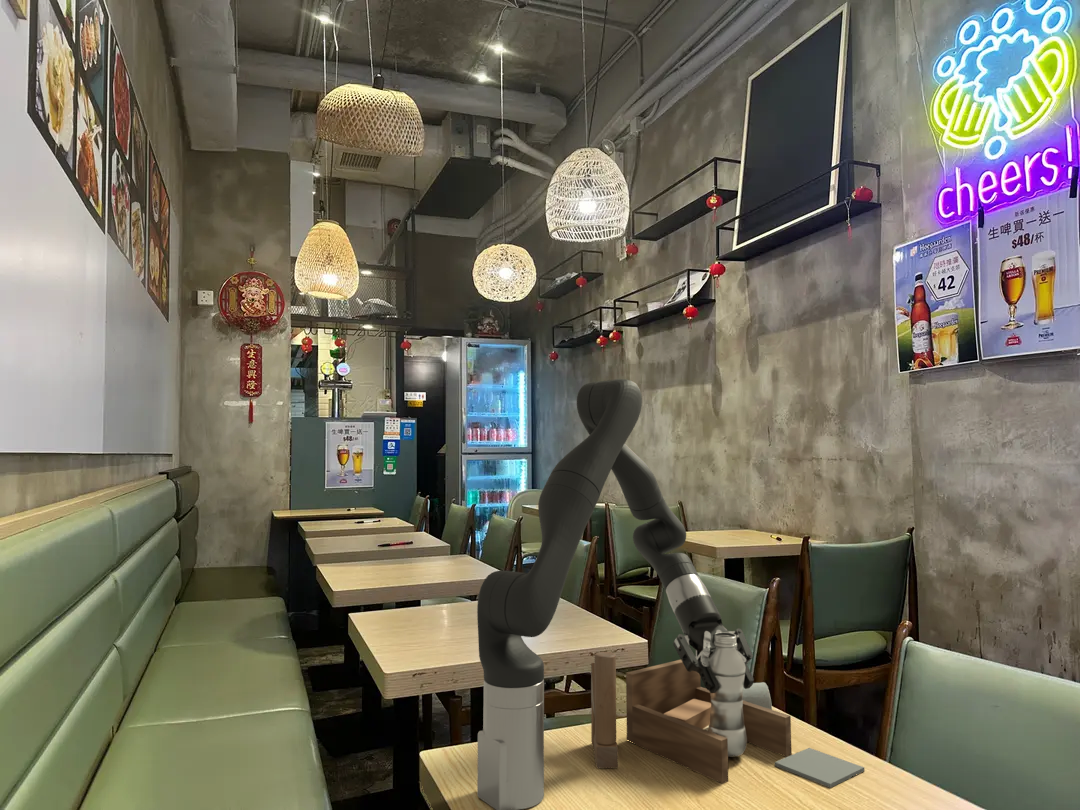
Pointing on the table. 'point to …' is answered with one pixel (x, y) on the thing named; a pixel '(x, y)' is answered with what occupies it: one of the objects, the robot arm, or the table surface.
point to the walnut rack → (685, 742)
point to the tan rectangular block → (693, 713)
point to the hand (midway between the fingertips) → (732, 688)
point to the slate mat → (819, 767)
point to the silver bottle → (728, 693)
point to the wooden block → (604, 710)
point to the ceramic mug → (758, 695)
